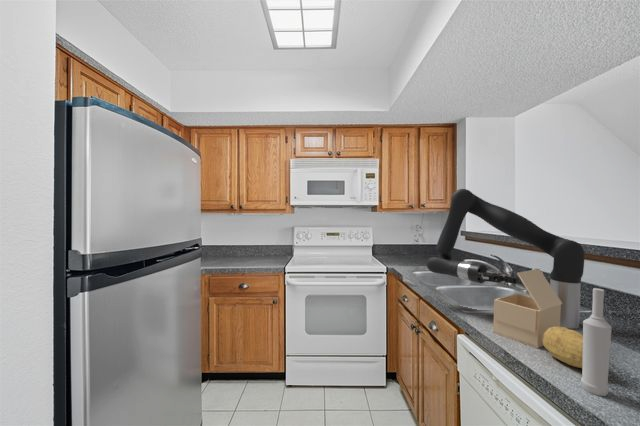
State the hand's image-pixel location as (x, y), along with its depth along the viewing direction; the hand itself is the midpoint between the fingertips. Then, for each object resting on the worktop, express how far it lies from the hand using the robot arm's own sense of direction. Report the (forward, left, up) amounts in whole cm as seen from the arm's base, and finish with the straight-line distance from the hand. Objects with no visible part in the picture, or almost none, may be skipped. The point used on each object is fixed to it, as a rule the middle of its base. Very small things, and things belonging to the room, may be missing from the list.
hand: (517, 281), depth 110 cm
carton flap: (0, +7, -1) cm, 7 cm away
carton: (0, +3, -19) cm, 19 cm away
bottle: (+21, +28, -19) cm, 40 cm away
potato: (+10, +20, -19) cm, 29 cm away
